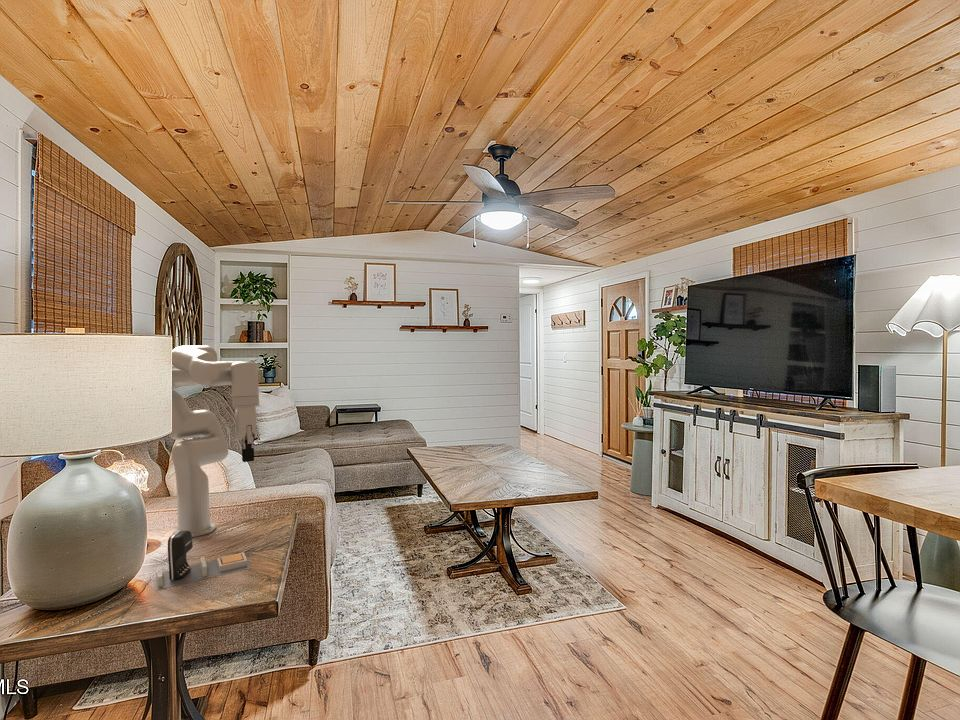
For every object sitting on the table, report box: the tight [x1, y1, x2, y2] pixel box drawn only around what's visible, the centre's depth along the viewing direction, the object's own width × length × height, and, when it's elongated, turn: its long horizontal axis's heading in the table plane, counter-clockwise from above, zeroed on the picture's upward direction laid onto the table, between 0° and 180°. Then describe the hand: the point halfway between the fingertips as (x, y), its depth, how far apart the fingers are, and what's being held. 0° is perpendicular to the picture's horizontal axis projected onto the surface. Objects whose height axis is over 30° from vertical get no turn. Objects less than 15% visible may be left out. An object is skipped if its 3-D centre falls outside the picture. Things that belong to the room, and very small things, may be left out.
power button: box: [221, 552, 243, 565], centre depth 142 cm, size 5×5×1 cm
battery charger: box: [167, 531, 194, 580], centre depth 136 cm, size 7×4×11 cm, turn 8°
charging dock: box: [155, 551, 252, 591], centre depth 139 cm, size 12×22×4 cm, turn 122°
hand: (248, 460), depth 157 cm, fingers closed
